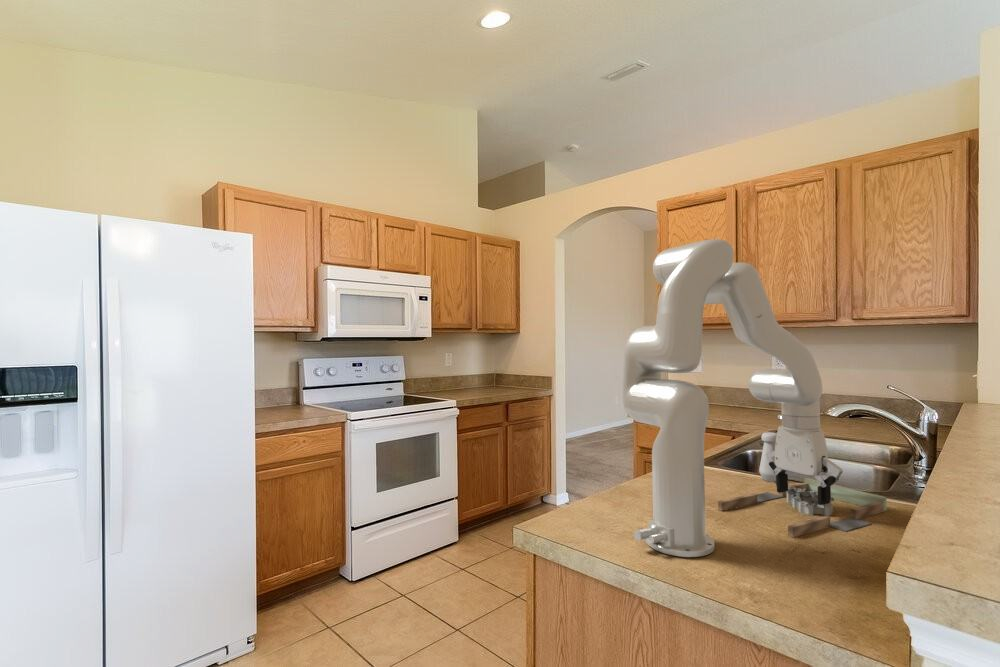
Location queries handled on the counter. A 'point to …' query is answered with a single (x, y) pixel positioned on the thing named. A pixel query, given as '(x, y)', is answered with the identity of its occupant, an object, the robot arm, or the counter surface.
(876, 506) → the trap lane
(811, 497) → the egg carton
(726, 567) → the counter surface
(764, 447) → the salt shaker
